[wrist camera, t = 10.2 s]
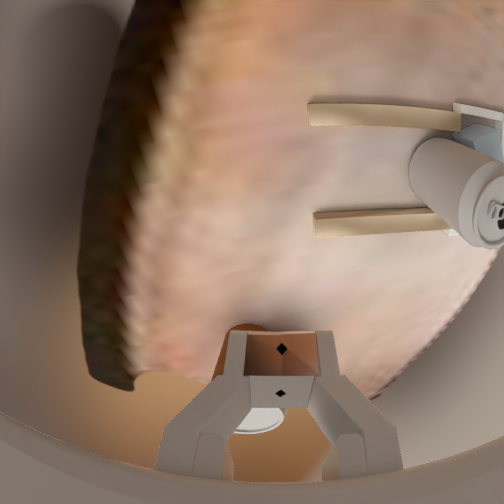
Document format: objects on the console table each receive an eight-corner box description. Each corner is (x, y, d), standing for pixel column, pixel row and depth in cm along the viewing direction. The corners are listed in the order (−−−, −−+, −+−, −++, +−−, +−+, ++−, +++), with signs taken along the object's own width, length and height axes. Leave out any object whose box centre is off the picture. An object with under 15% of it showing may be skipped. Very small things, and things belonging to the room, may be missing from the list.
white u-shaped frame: (452, 102, 23) (460, 103, 22) (500, 112, 22) (508, 114, 21) (442, 230, 30) (448, 236, 29) (486, 228, 30) (493, 233, 28)
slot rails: (307, 103, 25) (309, 104, 23) (452, 111, 23) (461, 113, 22) (313, 231, 31) (315, 238, 30) (443, 222, 30) (450, 229, 28)
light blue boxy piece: (452, 133, 25) (473, 141, 21) (476, 123, 24) (497, 129, 20) (460, 166, 26) (481, 177, 23) (484, 154, 25) (504, 164, 22)
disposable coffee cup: (274, 308, 36) (277, 389, 26) (290, 356, 41) (295, 430, 30) (202, 321, 38) (185, 399, 27) (226, 366, 42) (218, 437, 32)
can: (451, 206, 29) (513, 260, 18) (398, 197, 29) (457, 254, 18) (465, 144, 25) (539, 179, 15) (411, 128, 25) (485, 156, 15)
